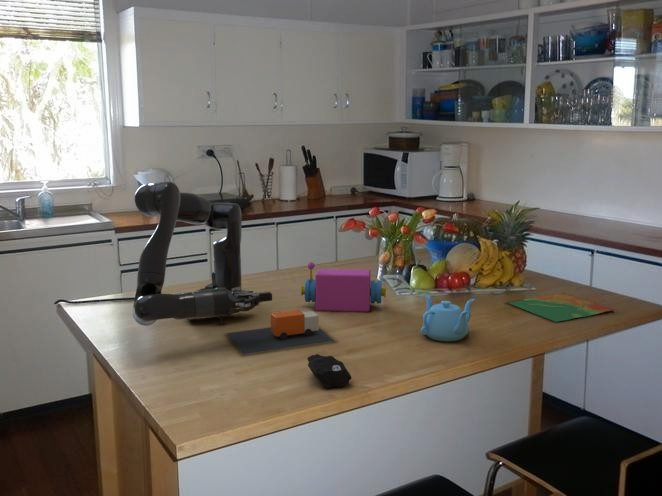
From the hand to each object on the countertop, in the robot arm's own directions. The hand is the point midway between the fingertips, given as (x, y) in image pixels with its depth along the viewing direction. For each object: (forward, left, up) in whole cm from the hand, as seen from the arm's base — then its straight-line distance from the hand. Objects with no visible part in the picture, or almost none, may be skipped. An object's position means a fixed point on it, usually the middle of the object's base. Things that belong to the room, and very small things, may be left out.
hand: (271, 296), depth 185 cm
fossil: (-21, +12, -13) cm, 28 cm away
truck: (0, 0, -8) cm, 8 cm away
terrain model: (+81, +53, -13) cm, 98 cm away
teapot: (+48, +16, -13) cm, 52 cm away
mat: (+2, +2, -13) cm, 13 cm away
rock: (+23, -25, -13) cm, 36 cm away
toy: (+12, +35, -13) cm, 39 cm away
